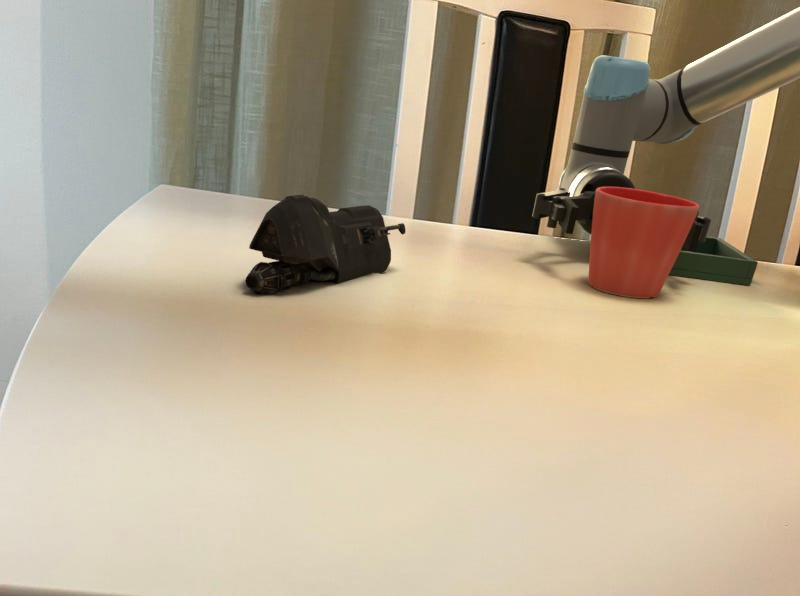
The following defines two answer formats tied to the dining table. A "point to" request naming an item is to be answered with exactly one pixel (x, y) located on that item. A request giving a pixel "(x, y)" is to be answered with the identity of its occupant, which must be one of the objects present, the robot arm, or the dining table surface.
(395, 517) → the dining table surface
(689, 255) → the plant tray
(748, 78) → the robot arm
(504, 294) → the dining table surface
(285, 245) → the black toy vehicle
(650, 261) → the flower pot
